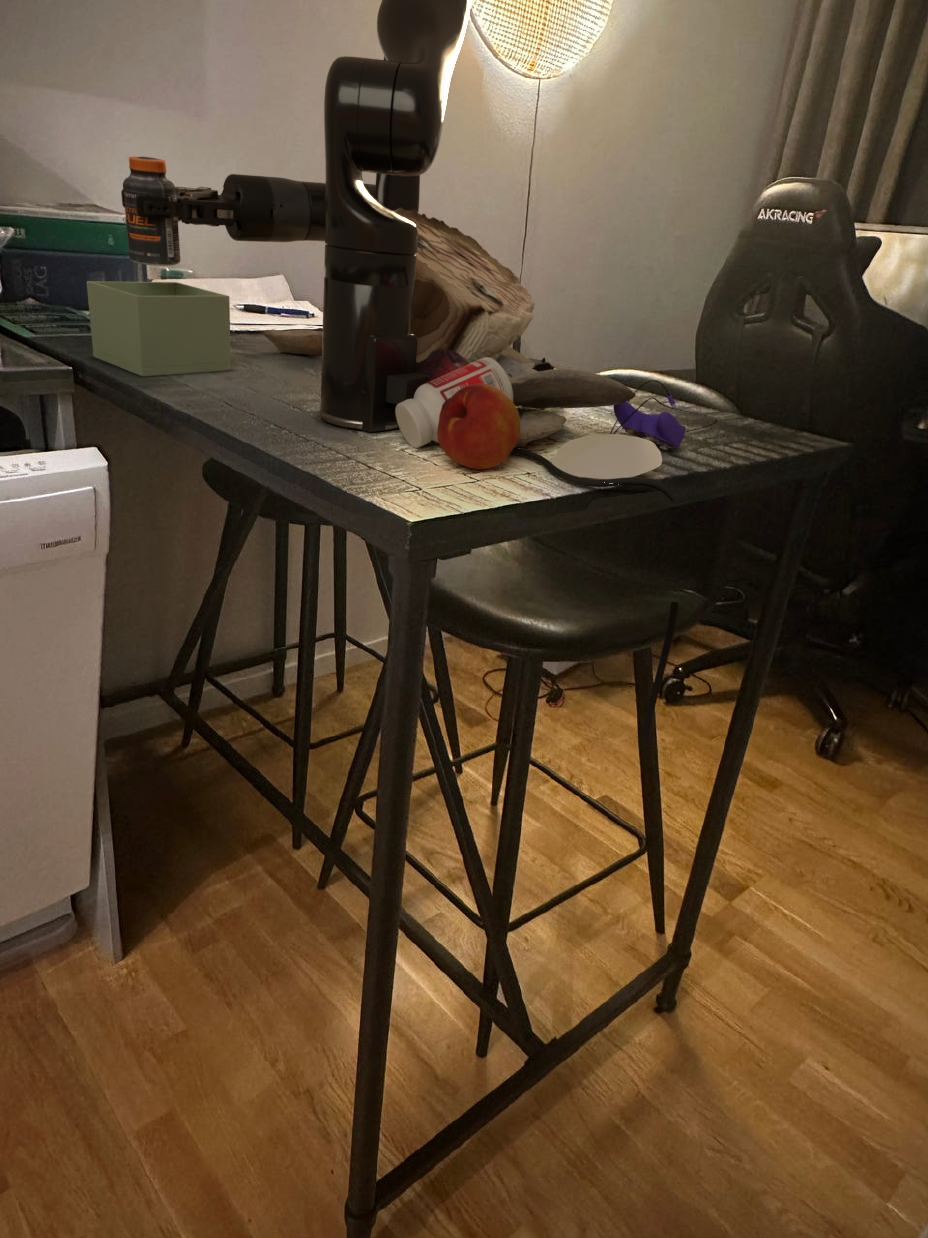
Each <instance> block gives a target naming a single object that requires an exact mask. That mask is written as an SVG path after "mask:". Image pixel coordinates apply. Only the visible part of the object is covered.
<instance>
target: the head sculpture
mask: <svg viewBox="0 0 928 1238" xmlns="http://www.w3.org/2000/svg"><path fill="white" fill-rule="evenodd" d="M393 212H395V213H397V214H399V215H401V216H403V217H405V218H407V219H409V220H410V221H412V222H413V223H414V224H415V225H416V226H417V229H418V248H417V253H416V255H417V261H416V274H415V286H414V301H413V315H412V328H411V334H414V335H416V336H417V338H418V343H417V356H416V361H417V362H418V363H419V362H421V361H423V360H424V359H426V358H427V357H428V356H429V355H430V353H431V352H432V351H435V350H437V349H448V350H451V351H454V352H456V353H458V354H459V355H460V356H462V357H463V358H465V359H466V360H467V361H468V363H469V364H470V363H472V362H474V361H477V360H479V359H482V358H486V357H488V358H489V357H493V356H494V355H496V354H499V353H500V352H502V351H503V350H506V349H507V347H508V346H509V347H511V346H512V345H513V343H515V342H516V341H517V340H518V339H520V338H521V337H522V335H523V334H524V333H525V331H526V330H527V329H528V327H529V325H530V324H531V322H532V321H533V319H534V315H533V314H532V313H533V311H534V309H535V308H534V307H535V303H534V301H533V299H532V298H533V297H532V295H531V294H530V293H529V292H528V290H527V288H525V287H524V286H523V285H522V284H521V281H520V278H519V277H518V276H516V275H515V274H514V272H513V271H512V270H511V269H510V268H508V267H507V266H504V265H503V264H502V263H500V262H499V261H498V259H496V258H495V257H492V256H491V254H490V253H489V252H488V251H487V250H486V249H484V247H483V246H482V245H481V244H480V243H479V242H478V241H477V240H476V239H474V238H473V237H472V236H470V235H465V234H464V233H463V232H462V231H461V230H459V229H458V227H453V226H449V225H448V224H446V222H445V221H444V220H440V219H437V218H436V217H428V216H427V215H426V213H422V214H421V213H419V211H418V212H417V208H416V207H414V208H413V209H412V210H410V211H406V210H404V209H402V208H399V209H397V210H395V211H393Z"/></svg>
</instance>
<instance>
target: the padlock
mask: <svg viewBox="0 0 928 1238" xmlns="http://www.w3.org/2000/svg"><path fill="white" fill-rule="evenodd" d="M496 362H497V363H498V364H499V365H500V366H501V367H502V368H503V369H504V371H505V372H506V374H507V376H508V378H509V379H510V378H513V377H517V376H521V375H525V374H530V373H534V372H538V371H536V370H534V369H532V368H530V367H528V366H526V365H524V364H522V363H520V362H518V361H515V360H513V359H511V358H509V357H506V356H504V355H502V354H500V356H499V357H498V359H497V361H496ZM538 409H539V410H541V411H546V408H538Z"/></svg>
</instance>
